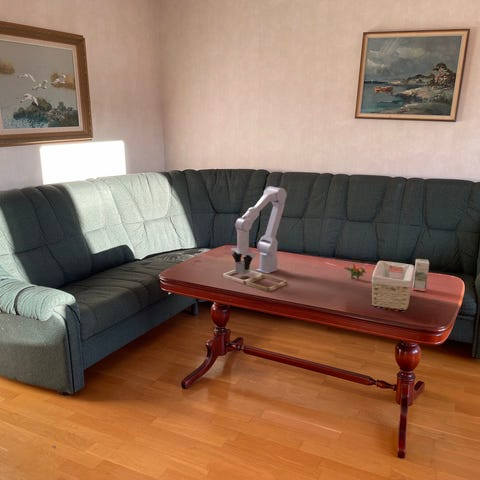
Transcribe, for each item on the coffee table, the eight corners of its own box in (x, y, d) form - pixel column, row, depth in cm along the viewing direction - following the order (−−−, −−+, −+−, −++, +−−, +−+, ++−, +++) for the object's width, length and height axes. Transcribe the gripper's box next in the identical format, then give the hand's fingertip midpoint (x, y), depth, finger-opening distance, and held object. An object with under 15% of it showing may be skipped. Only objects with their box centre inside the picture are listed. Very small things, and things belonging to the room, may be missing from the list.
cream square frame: (241, 270, 241) (241, 267, 240) (262, 276, 232) (262, 273, 231) (221, 277, 230) (222, 274, 230) (243, 284, 221) (243, 281, 221)
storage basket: (407, 314, 190) (411, 280, 186) (367, 307, 196) (370, 275, 192) (411, 294, 211) (415, 264, 207) (375, 289, 217) (378, 259, 213)
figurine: (363, 282, 226) (365, 266, 224) (341, 277, 233) (342, 262, 231) (366, 280, 228) (367, 265, 226) (343, 275, 235) (344, 260, 233)
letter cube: (242, 269, 234) (242, 260, 232) (249, 272, 231) (249, 262, 229) (235, 272, 230) (235, 262, 229) (243, 274, 227) (243, 264, 226)
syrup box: (425, 288, 219) (428, 259, 215) (425, 292, 214) (429, 263, 210) (412, 286, 221) (415, 258, 217) (412, 290, 215) (416, 261, 212)
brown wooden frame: (263, 276, 231) (263, 274, 231) (286, 283, 222) (287, 281, 222) (244, 284, 221) (244, 281, 220) (268, 291, 211) (268, 288, 211)
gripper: (226, 241, 228) (226, 267, 231) (248, 246, 219) (248, 273, 222) (236, 238, 233) (235, 263, 237) (258, 243, 224) (257, 270, 227)
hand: (242, 268), depth 230 cm, fingers closed on letter cube, 5 cm apart
